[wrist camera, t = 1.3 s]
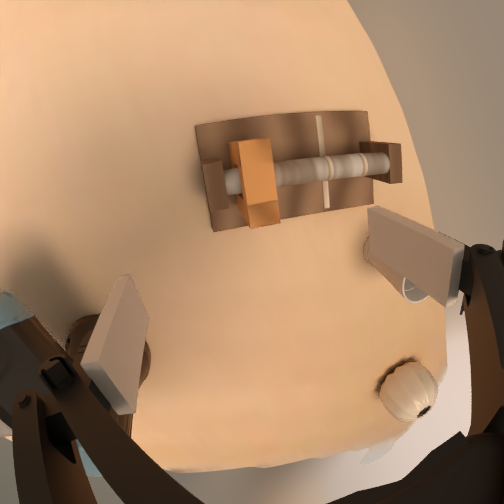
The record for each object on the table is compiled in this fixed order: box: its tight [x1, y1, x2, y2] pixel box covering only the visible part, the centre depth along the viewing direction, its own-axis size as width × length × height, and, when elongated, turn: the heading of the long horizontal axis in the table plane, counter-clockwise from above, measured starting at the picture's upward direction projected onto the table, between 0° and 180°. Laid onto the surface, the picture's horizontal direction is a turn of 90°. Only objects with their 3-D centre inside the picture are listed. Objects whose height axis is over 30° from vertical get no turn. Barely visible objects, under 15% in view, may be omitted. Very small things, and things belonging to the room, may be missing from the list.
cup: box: [363, 237, 429, 303], centre depth 40 cm, size 8×8×12 cm
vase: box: [379, 362, 438, 422], centre depth 55 cm, size 14×14×13 cm
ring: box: [228, 138, 280, 229], centre depth 31 cm, size 3×8×8 cm, turn 8°
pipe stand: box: [195, 111, 402, 232], centre depth 34 cm, size 24×14×8 cm, turn 98°
